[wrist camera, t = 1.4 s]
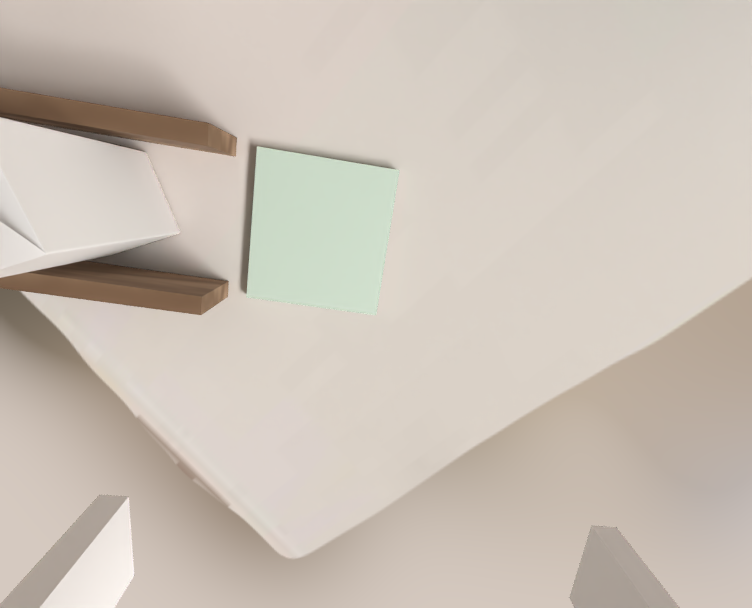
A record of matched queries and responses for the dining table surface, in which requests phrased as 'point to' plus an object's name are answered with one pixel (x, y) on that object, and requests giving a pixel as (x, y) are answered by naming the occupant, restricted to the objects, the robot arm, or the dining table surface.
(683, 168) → the dining table surface
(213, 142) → the channel
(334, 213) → the pad
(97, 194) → the milk carton
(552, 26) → the dining table surface
